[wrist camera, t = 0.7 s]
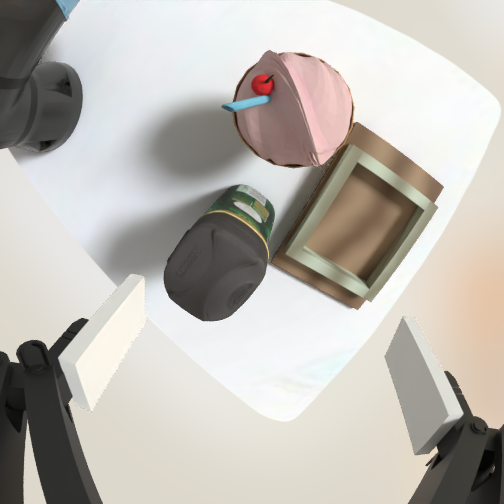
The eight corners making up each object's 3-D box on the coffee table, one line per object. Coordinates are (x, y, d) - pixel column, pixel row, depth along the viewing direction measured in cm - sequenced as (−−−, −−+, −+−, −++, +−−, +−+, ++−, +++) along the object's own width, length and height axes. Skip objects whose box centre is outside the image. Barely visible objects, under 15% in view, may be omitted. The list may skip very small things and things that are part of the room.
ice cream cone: (271, 170, 39) (254, 207, 21) (234, 96, 36) (184, 66, 18) (348, 138, 36) (403, 147, 18) (312, 62, 33) (333, 3, 15)
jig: (271, 259, 44) (270, 270, 41) (355, 122, 35) (362, 121, 32) (356, 306, 45) (360, 319, 42) (440, 185, 37) (452, 190, 34)
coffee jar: (243, 261, 44) (215, 344, 27) (198, 228, 43) (142, 293, 26) (286, 209, 41) (283, 269, 24) (237, 173, 40) (198, 207, 23)
